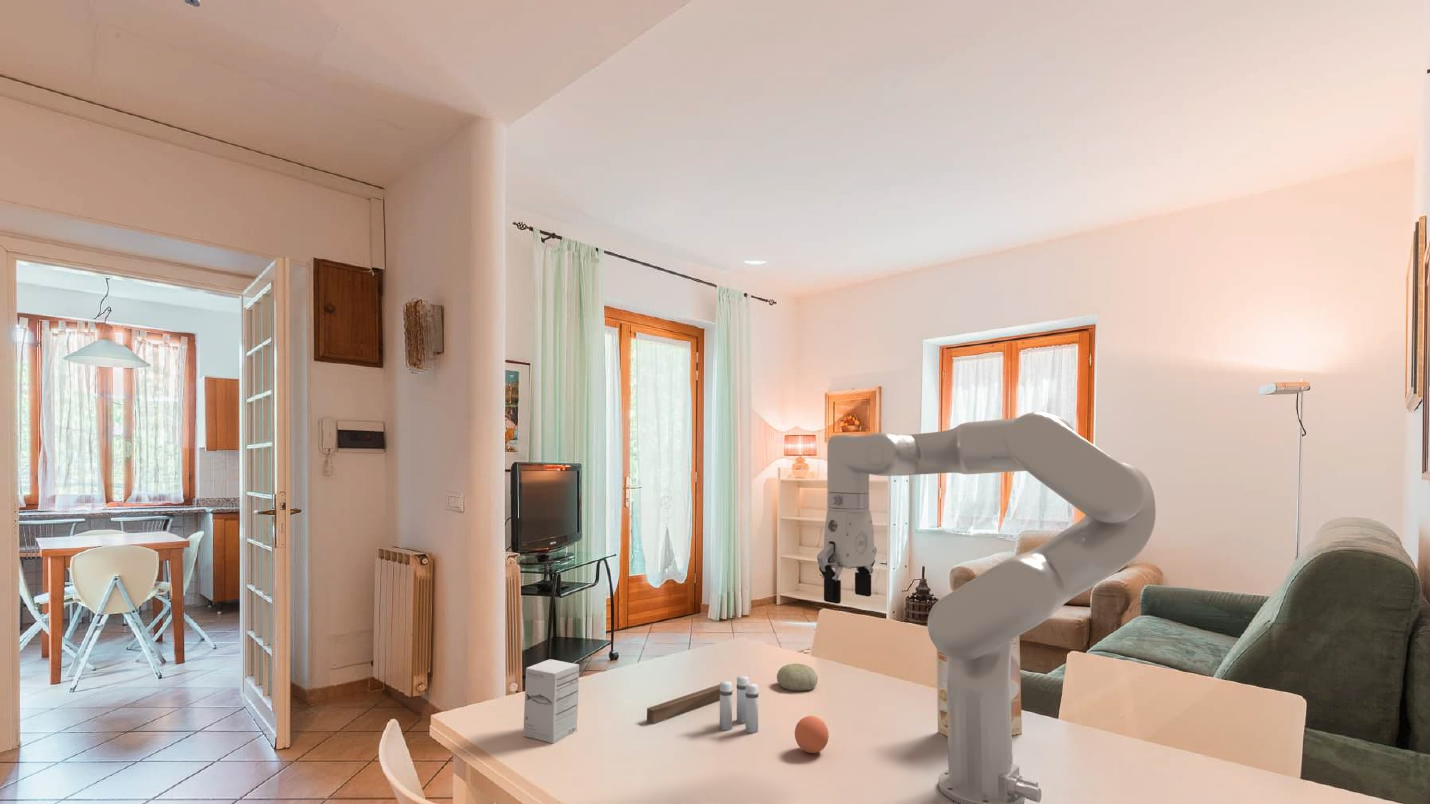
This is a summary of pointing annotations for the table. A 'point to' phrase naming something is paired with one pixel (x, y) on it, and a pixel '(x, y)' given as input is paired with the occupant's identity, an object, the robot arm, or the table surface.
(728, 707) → the pin
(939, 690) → the coffeecake box
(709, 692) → the back wall
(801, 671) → the sea urchin shell
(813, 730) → the ball
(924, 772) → the table surface
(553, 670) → the supplement box
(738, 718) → the pin
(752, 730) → the front pin
